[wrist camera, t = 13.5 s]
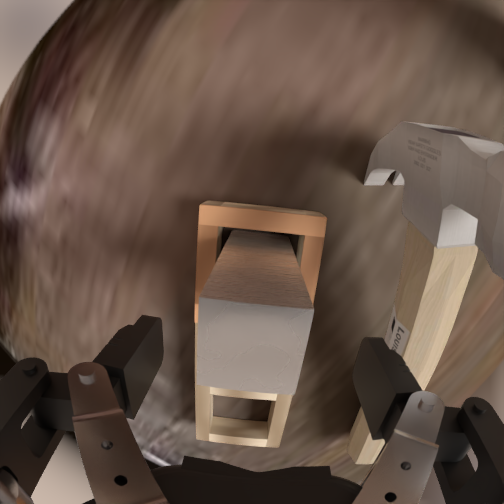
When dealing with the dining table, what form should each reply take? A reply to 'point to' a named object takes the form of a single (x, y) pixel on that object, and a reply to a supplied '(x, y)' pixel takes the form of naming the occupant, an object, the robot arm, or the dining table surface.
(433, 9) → the dining table surface
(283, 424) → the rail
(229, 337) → the steel peg
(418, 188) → the hammer
